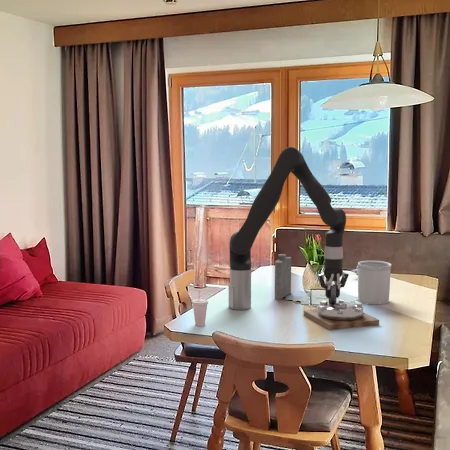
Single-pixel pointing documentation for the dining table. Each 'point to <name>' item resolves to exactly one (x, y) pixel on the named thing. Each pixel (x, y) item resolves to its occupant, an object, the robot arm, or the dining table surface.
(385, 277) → the utensil holder
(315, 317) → the brown wooden board
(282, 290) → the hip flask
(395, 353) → the dining table surface
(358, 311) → the silver round piece
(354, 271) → the blue toy figure
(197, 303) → the smoothie
